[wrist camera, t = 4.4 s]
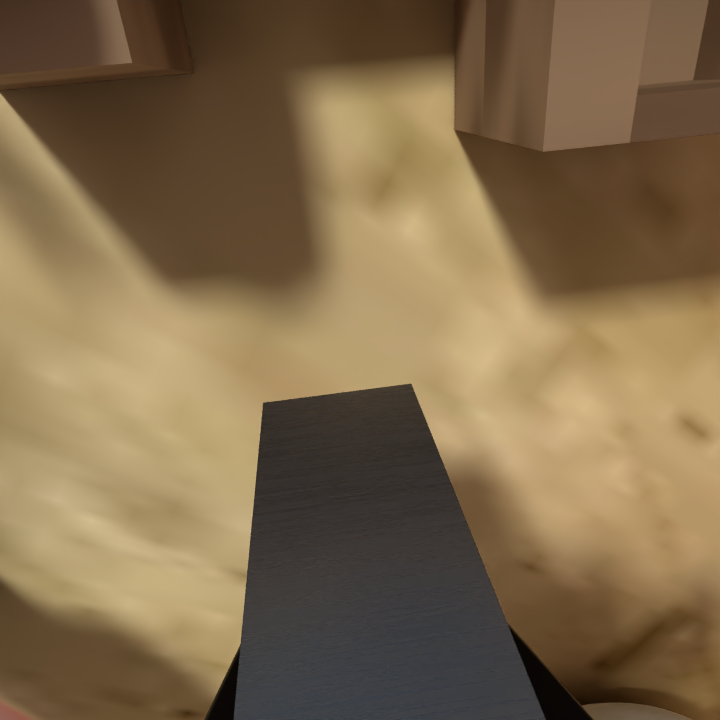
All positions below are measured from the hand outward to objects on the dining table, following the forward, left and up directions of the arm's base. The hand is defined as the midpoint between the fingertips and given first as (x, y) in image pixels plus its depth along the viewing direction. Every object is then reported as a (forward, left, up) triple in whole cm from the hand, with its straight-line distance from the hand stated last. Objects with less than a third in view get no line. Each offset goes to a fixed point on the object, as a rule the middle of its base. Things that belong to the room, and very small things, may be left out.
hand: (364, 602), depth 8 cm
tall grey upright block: (0, 0, -2) cm, 2 cm away
